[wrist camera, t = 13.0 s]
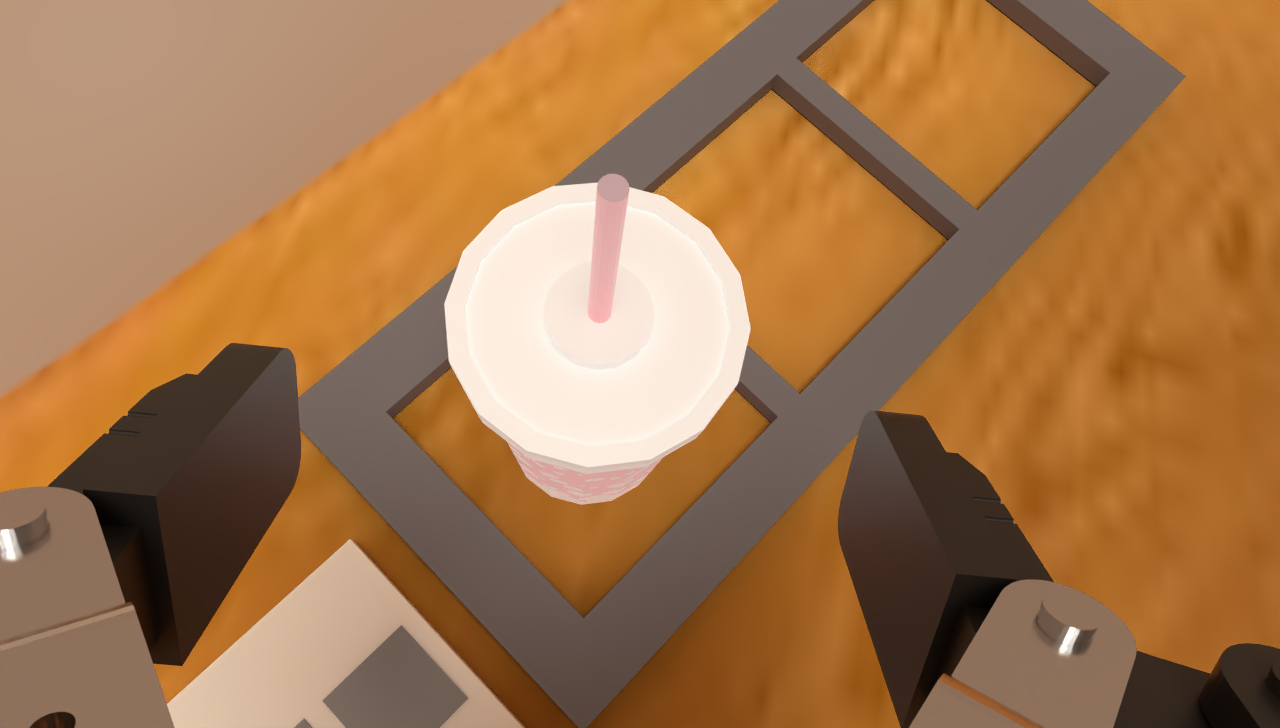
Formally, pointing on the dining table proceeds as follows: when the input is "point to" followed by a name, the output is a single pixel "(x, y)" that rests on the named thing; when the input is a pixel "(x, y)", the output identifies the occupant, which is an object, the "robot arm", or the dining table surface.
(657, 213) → the beverage cup
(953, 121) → the dining table surface
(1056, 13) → the grey flat frame
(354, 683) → the card
